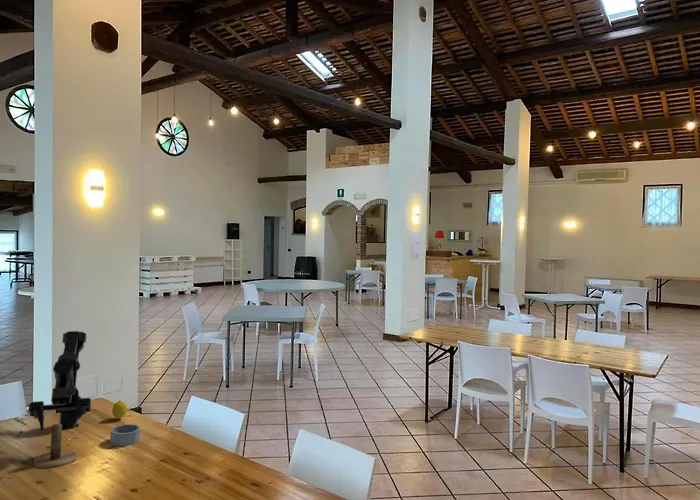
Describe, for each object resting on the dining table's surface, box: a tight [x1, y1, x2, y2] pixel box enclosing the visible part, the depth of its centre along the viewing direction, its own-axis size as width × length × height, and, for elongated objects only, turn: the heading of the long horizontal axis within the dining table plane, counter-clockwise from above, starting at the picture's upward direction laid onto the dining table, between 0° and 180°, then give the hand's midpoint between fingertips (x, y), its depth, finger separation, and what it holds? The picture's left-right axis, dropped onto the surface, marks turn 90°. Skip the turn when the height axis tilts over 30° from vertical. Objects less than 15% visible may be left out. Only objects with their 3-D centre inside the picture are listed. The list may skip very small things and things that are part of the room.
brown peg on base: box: [32, 423, 77, 469], centre depth 161 cm, size 12×12×12 cm
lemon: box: [111, 400, 128, 420], centre depth 202 cm, size 6×6×8 cm
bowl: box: [109, 423, 141, 447], centre depth 180 cm, size 10×10×4 cm
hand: (57, 429), depth 163 cm, fingers open, 9 cm apart
